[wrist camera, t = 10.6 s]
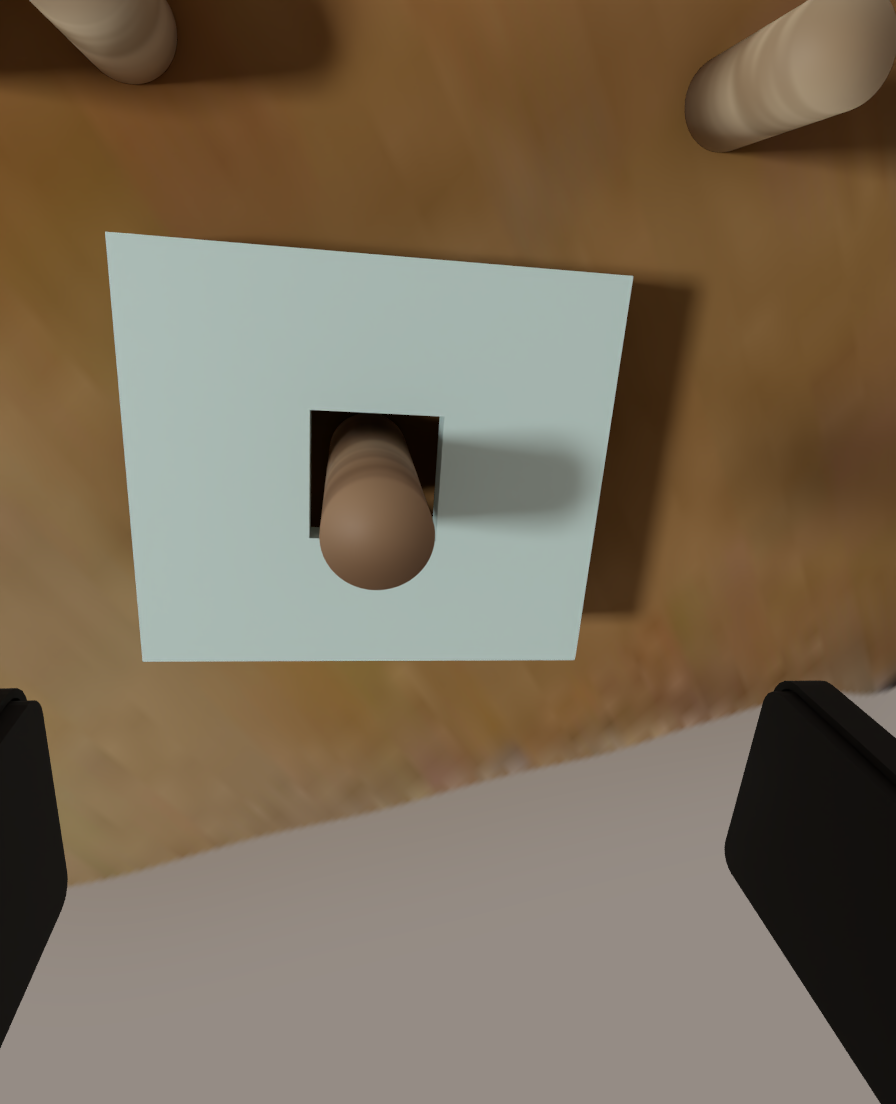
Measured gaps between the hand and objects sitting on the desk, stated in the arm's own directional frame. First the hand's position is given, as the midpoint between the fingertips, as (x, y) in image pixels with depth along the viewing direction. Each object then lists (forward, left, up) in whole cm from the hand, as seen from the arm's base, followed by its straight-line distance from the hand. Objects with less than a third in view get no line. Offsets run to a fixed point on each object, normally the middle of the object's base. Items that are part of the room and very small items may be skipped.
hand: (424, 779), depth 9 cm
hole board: (0, 0, -20) cm, 20 cm away
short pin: (-13, -8, -20) cm, 25 cm away
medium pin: (-13, +12, -20) cm, 27 cm away
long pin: (0, 0, -20) cm, 20 cm away
